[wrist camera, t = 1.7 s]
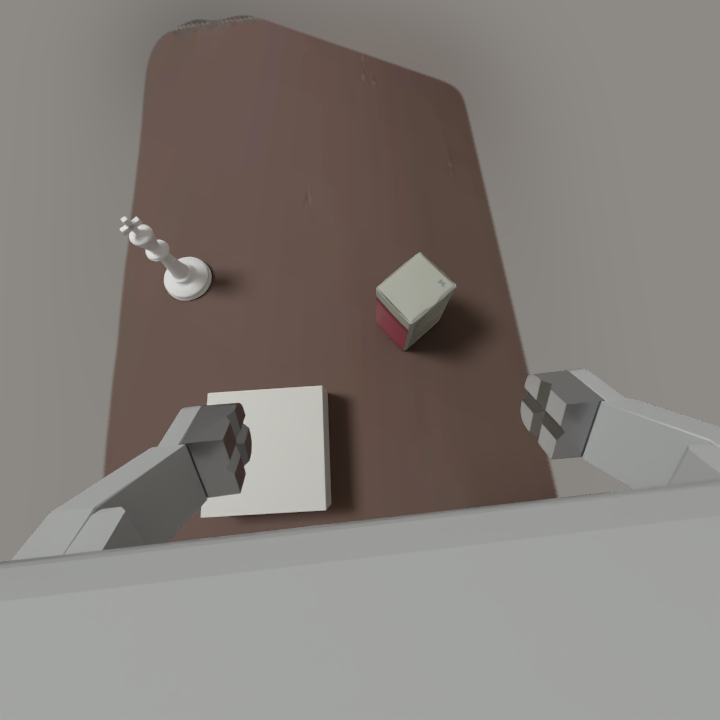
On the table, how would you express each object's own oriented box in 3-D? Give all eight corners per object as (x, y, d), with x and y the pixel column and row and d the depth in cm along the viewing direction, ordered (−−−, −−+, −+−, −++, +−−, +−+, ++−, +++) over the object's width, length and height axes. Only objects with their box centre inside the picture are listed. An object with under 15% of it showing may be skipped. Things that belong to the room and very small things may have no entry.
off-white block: (331, 502, 31) (325, 510, 27) (222, 509, 31) (200, 517, 27) (328, 393, 34) (322, 385, 30) (226, 399, 34) (207, 393, 30)
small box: (410, 292, 36) (420, 248, 28) (440, 321, 35) (458, 284, 27) (374, 323, 35) (373, 287, 27) (403, 353, 34) (411, 324, 26)
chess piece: (158, 279, 37) (82, 218, 28) (194, 251, 38) (133, 182, 28) (183, 309, 36) (113, 257, 27) (220, 280, 37) (166, 219, 27)
